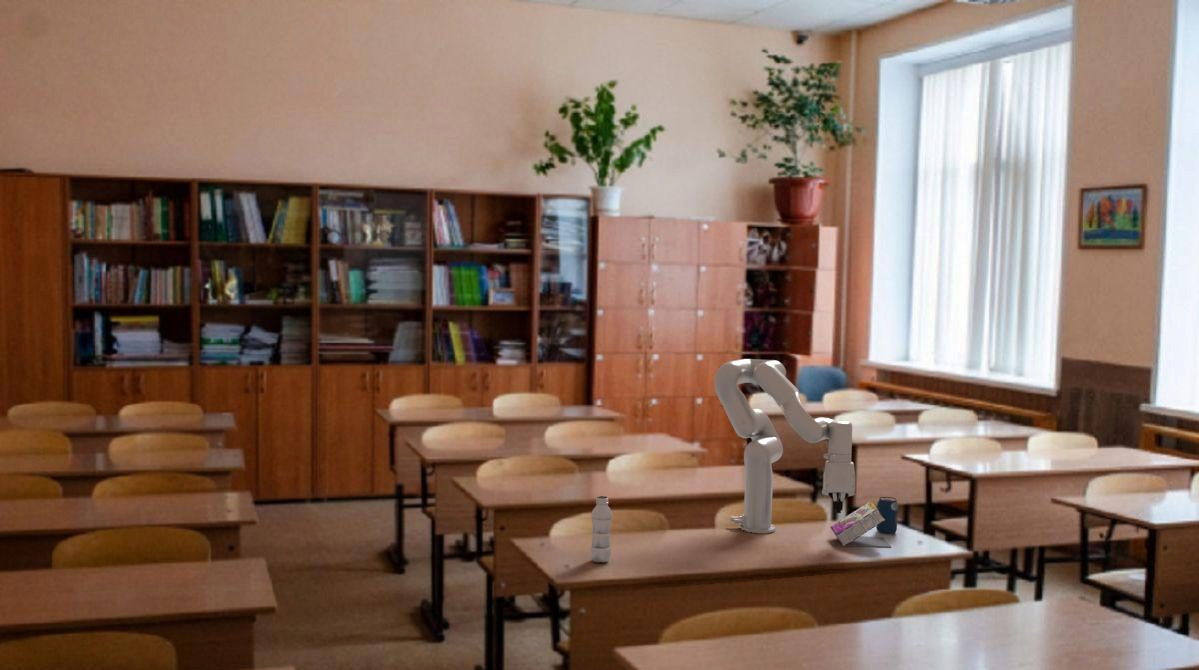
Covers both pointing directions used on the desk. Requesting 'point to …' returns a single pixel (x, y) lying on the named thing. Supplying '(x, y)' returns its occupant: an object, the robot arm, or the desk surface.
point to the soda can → (888, 515)
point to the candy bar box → (857, 523)
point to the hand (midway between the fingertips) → (837, 512)
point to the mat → (870, 542)
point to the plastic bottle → (601, 531)
